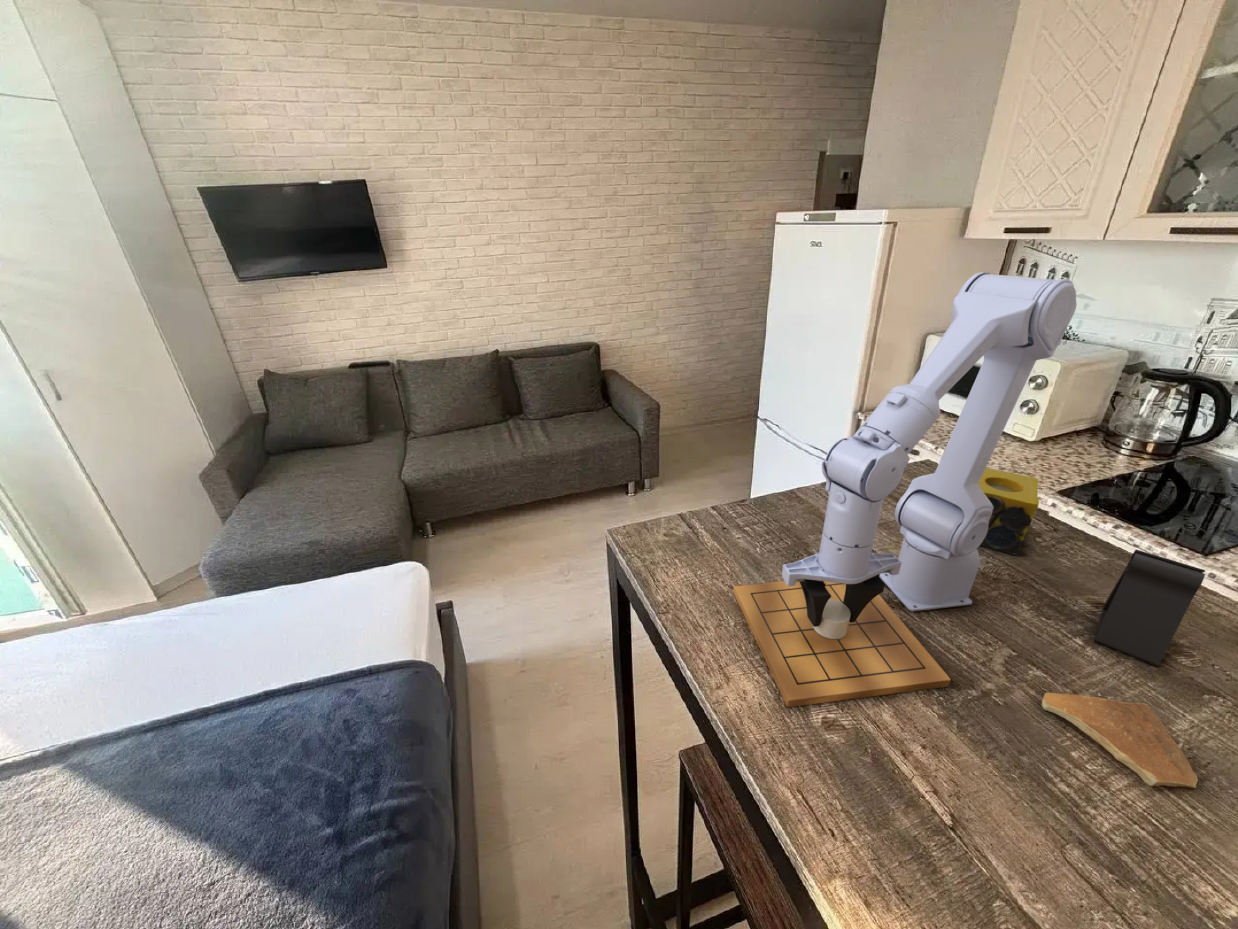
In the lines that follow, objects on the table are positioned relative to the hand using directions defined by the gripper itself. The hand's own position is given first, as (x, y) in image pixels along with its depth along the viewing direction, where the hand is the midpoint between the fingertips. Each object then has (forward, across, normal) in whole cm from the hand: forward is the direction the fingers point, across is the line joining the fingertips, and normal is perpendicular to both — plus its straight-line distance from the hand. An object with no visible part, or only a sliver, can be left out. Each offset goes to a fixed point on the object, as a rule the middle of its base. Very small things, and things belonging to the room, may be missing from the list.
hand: (831, 619), depth 67 cm
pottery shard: (+3, -22, +19) cm, 29 cm away
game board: (+3, 0, 0) cm, 3 cm away
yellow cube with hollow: (+3, -37, -18) cm, 41 cm away
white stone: (+1, 0, 0) cm, 1 cm away
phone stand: (+3, -38, +6) cm, 39 cm away
